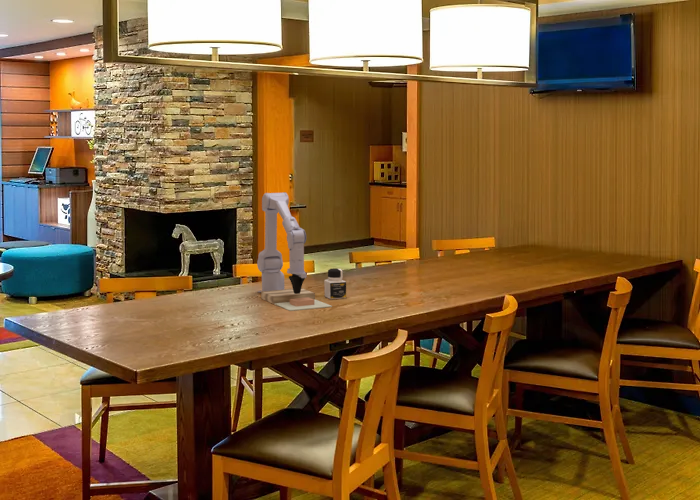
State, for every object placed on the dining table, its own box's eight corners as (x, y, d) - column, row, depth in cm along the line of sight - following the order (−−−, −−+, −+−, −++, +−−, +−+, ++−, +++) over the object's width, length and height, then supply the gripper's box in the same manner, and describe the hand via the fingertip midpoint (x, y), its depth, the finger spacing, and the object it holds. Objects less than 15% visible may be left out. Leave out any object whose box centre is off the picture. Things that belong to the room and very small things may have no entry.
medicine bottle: (330, 299, 371) (330, 270, 370) (324, 296, 378) (324, 268, 376) (346, 298, 374) (346, 269, 372) (340, 295, 380) (340, 267, 379)
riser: (261, 298, 373) (261, 291, 373) (301, 294, 382) (300, 287, 381) (274, 304, 361) (273, 296, 361) (314, 300, 369) (314, 293, 369)
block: (295, 301, 354) (295, 306, 354) (314, 299, 357) (314, 304, 358) (289, 298, 359) (289, 303, 359) (308, 297, 363) (308, 302, 363)
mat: (274, 304, 361) (274, 303, 361) (315, 300, 369) (315, 299, 369) (289, 311, 347) (289, 310, 347) (332, 306, 355) (332, 305, 355)
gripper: (280, 258, 365) (280, 291, 367) (294, 262, 352) (295, 297, 354) (296, 257, 368) (296, 290, 370) (311, 261, 356) (311, 295, 357)
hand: (297, 293), depth 362 cm, fingers closed
